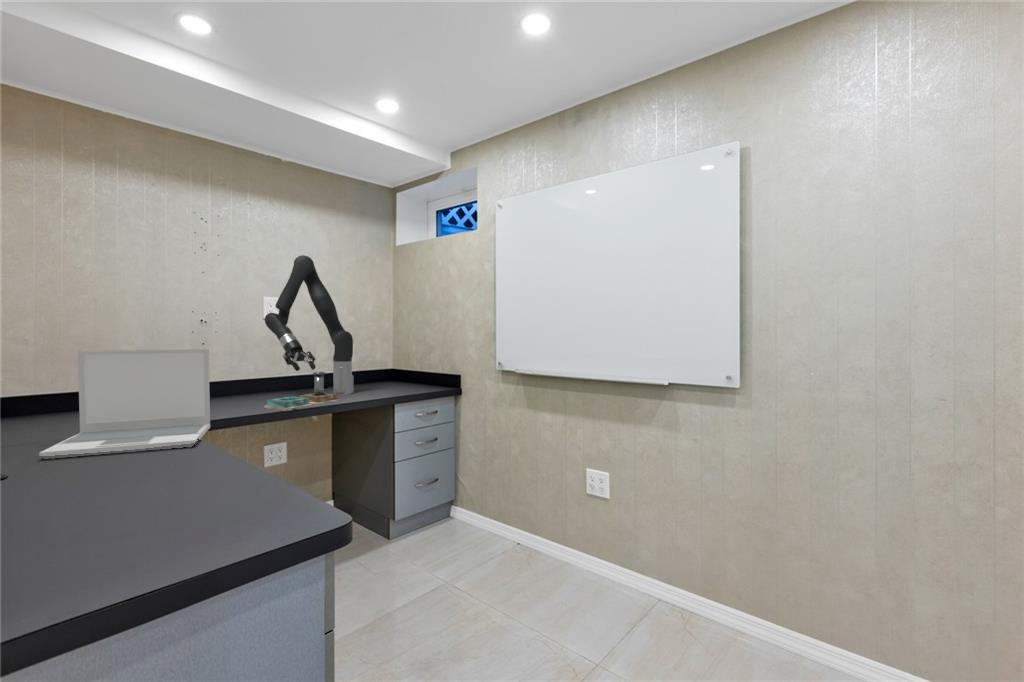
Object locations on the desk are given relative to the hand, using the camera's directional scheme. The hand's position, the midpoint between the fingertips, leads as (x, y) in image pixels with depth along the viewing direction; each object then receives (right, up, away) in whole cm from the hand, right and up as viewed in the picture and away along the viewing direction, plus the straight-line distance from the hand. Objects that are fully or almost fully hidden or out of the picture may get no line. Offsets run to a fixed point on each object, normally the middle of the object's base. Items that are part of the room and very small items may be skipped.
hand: (306, 369), depth 228 cm
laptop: (-17, -18, -82) cm, 86 cm away
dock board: (+4, -15, -11) cm, 19 cm away
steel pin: (+8, -14, -4) cm, 17 cm away
